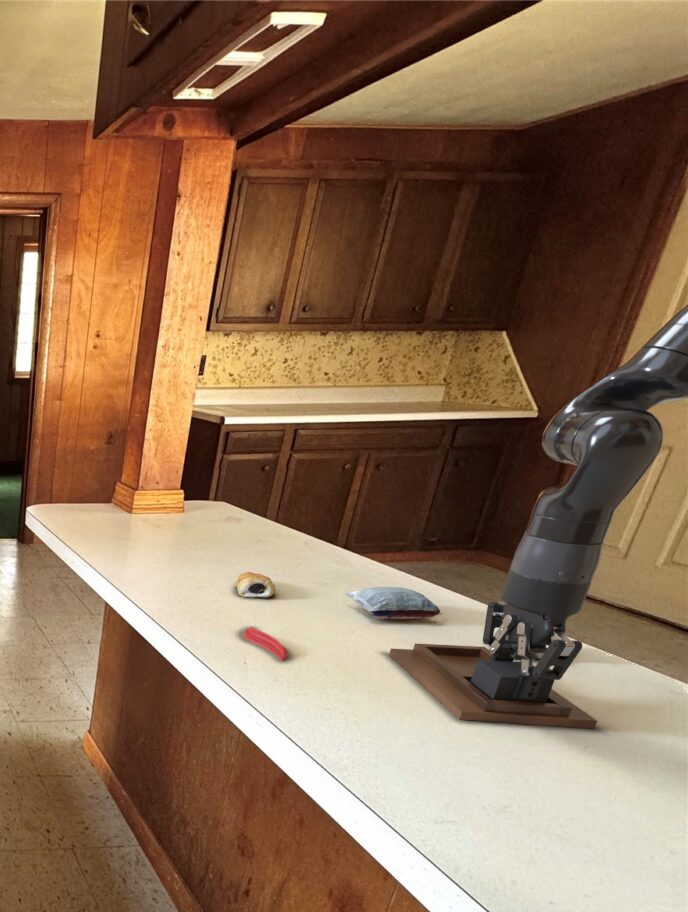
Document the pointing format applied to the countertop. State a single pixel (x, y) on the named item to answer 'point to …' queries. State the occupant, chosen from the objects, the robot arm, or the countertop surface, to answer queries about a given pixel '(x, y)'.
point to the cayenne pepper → (266, 642)
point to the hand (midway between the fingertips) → (507, 689)
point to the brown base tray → (451, 685)
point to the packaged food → (394, 603)
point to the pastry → (254, 585)
